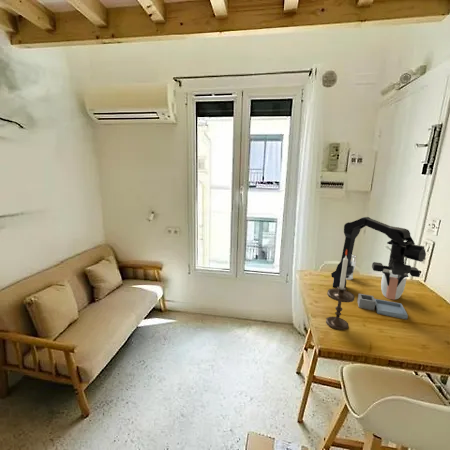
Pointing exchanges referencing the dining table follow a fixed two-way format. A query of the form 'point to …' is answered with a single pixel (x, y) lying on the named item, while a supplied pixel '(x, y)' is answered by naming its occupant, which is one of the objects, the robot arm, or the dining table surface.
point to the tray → (390, 309)
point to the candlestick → (340, 299)
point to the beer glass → (353, 263)
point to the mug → (399, 288)
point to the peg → (392, 288)
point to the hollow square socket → (366, 301)
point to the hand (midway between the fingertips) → (392, 286)
